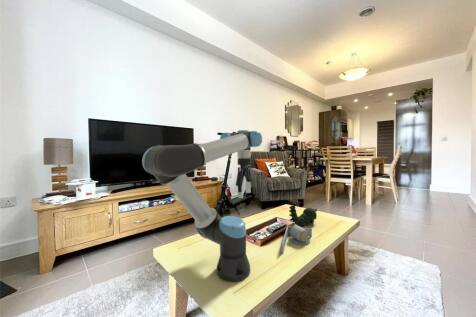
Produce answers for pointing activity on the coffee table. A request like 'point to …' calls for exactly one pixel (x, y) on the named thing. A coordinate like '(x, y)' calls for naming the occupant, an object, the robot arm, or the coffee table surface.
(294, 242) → the slate coaster
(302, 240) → the ceramic mug
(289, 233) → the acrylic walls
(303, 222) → the toy figurine
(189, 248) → the coffee table surface
